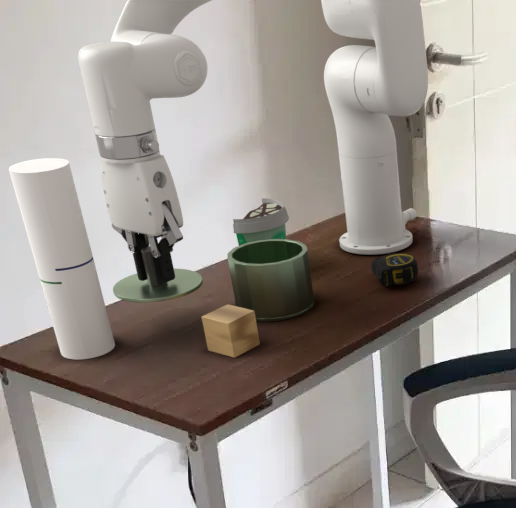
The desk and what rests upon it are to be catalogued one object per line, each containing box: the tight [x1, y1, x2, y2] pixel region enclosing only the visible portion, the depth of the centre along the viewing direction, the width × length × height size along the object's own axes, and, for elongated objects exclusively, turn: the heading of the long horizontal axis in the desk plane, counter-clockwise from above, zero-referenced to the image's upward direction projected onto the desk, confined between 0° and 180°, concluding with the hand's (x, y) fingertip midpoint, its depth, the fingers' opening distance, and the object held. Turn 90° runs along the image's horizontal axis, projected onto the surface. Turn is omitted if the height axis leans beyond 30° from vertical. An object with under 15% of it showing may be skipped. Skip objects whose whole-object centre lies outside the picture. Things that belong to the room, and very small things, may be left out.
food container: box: [232, 197, 290, 246], centre depth 161 cm, size 12×6×10 cm, turn 168°
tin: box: [227, 238, 315, 323], centre depth 148 cm, size 11×11×8 cm
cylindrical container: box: [8, 157, 116, 360], centre depth 133 cm, size 7×7×25 cm
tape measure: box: [370, 252, 419, 288], centre depth 157 cm, size 7×7×4 cm
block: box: [201, 303, 261, 359], centre depth 137 cm, size 5×5×5 cm
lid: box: [112, 245, 204, 304], centre depth 141 cm, size 12×12×6 cm
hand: (157, 278), depth 141 cm, fingers closed on lid, 2 cm apart
